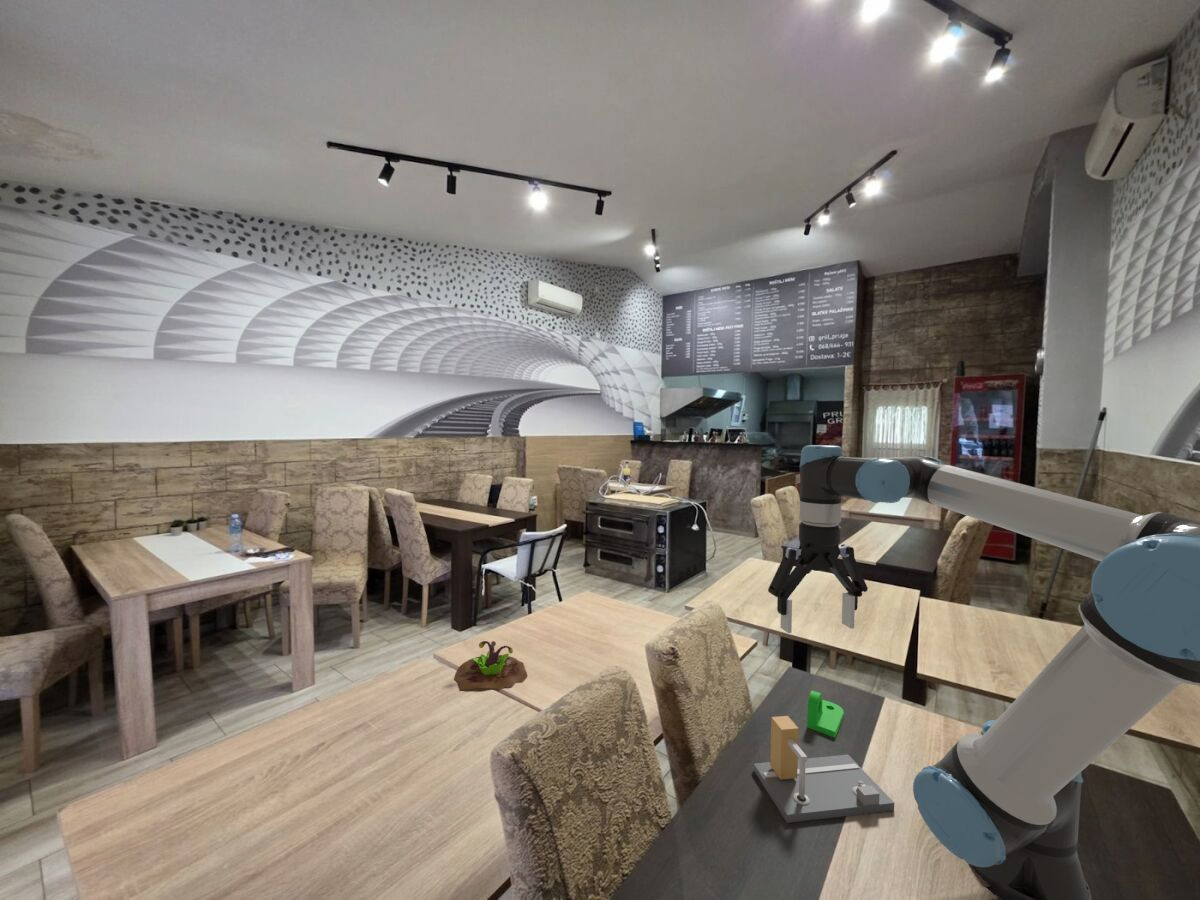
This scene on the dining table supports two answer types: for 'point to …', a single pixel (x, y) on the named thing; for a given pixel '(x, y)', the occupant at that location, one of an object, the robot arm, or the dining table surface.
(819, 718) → the mechanical part
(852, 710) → the dining table surface
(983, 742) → the robot arm
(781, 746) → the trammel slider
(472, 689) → the plant
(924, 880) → the dining table surface
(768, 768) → the plate
